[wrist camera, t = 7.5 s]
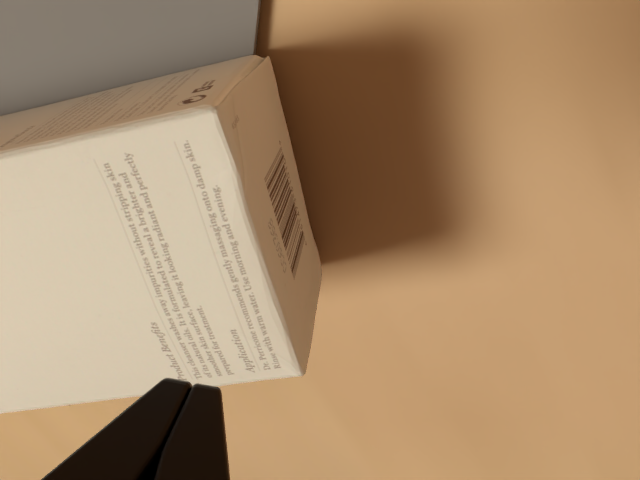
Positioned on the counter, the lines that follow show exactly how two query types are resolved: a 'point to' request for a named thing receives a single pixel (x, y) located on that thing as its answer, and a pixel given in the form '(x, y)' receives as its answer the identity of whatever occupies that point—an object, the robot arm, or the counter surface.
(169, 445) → the robot arm
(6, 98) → the mat
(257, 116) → the skincare box
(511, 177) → the counter surface
